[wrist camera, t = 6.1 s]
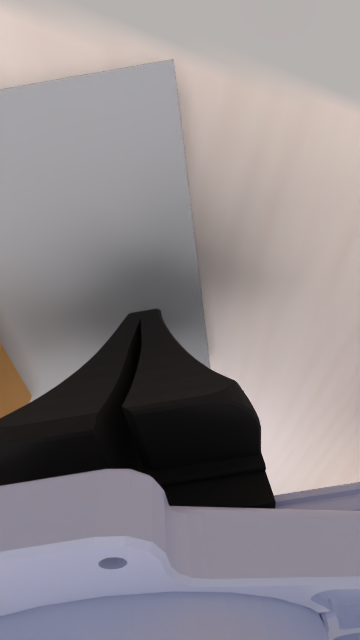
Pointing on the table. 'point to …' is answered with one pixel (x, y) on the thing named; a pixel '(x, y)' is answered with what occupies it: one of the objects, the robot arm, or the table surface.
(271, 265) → the table surface
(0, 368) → the chock
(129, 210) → the dock
